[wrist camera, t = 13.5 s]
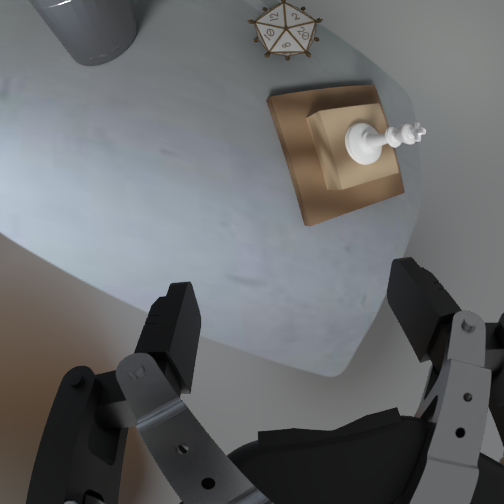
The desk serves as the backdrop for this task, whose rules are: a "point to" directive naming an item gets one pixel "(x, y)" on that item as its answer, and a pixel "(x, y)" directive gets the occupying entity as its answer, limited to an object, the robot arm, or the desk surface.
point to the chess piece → (378, 140)
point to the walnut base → (307, 156)
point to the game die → (285, 30)
